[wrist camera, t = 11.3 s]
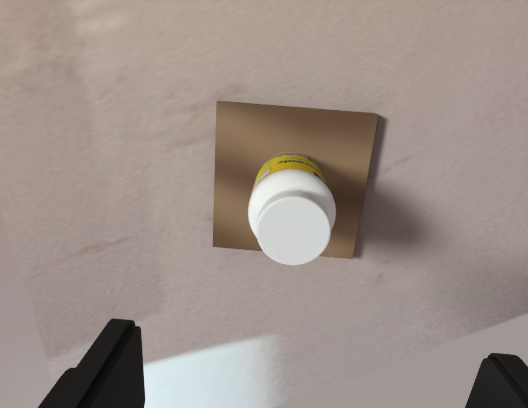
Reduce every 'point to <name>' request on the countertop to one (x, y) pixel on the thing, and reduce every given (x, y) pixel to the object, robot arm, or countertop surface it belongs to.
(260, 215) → the supplement bottle
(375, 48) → the countertop surface
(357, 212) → the walnut board
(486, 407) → the robot arm
